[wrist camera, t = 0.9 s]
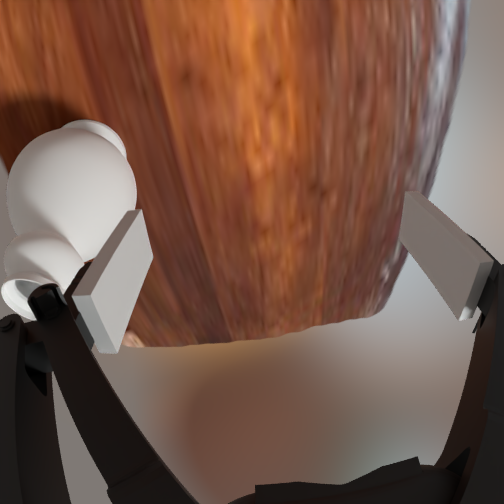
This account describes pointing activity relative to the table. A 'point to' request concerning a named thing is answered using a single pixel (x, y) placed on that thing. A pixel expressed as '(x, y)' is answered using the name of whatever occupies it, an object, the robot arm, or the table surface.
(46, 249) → the decorative vase
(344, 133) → the table surface
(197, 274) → the table surface
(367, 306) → the table surface
